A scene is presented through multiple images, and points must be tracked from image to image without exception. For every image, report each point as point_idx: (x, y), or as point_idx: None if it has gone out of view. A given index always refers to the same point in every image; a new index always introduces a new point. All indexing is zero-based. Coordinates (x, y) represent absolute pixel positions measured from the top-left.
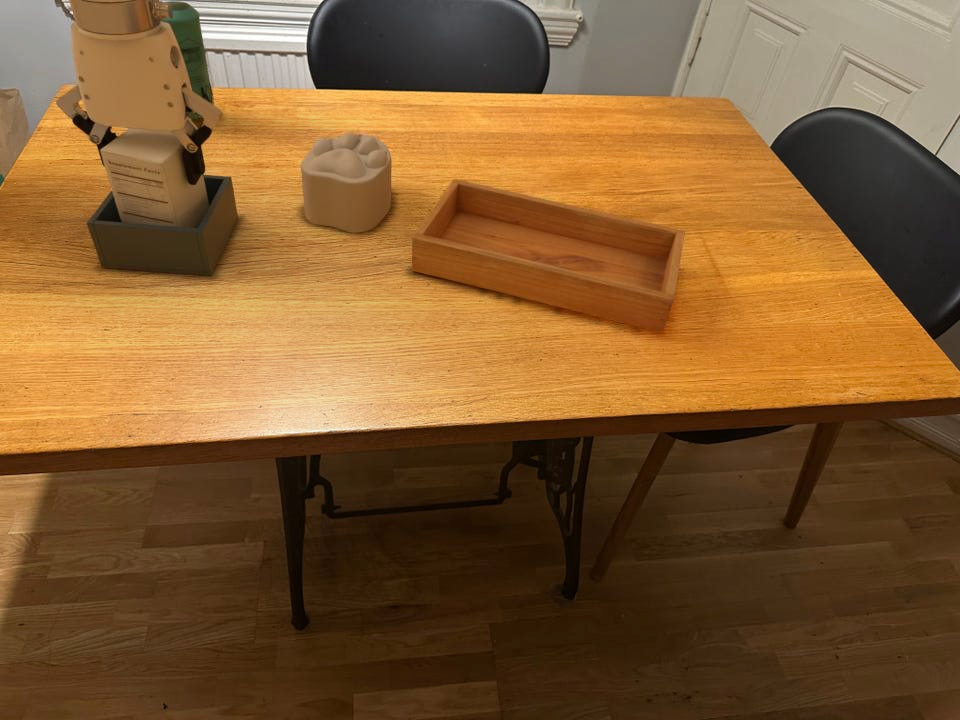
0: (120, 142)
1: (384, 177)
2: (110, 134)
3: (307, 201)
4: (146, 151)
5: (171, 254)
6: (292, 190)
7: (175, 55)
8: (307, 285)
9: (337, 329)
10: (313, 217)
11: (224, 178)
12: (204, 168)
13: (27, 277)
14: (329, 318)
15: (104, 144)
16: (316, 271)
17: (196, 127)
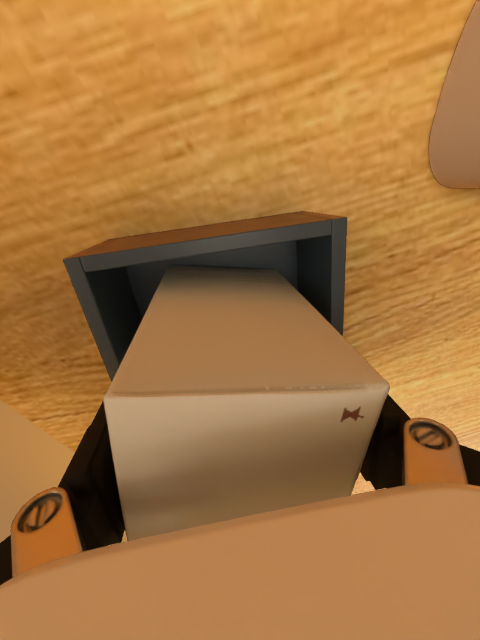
0: (163, 528)
1: None
2: (94, 516)
3: (477, 176)
4: None
5: None
6: (396, 32)
7: None
8: (432, 351)
9: (463, 406)
10: (457, 185)
11: (332, 231)
12: None
13: (82, 435)
14: (456, 395)
15: (112, 534)
16: (445, 320)
17: (463, 474)
